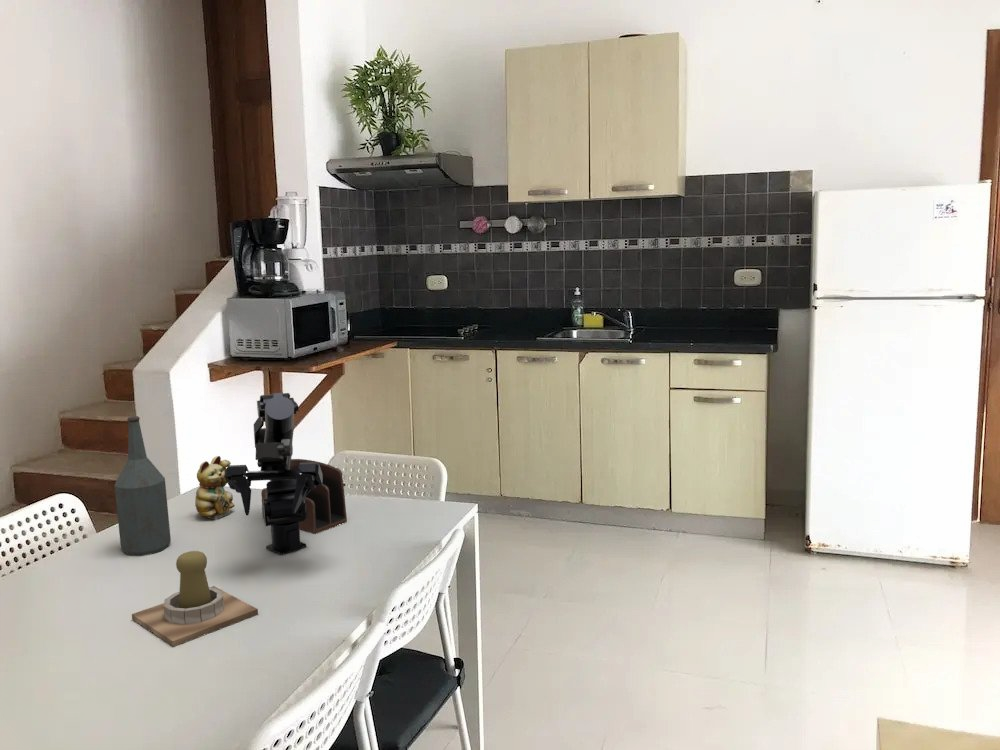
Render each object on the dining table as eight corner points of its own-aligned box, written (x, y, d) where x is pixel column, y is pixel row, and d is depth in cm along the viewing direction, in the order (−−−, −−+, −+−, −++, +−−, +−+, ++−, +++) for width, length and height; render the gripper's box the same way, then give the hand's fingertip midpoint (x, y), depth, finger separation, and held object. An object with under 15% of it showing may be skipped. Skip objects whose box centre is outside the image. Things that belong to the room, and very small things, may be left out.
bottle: (122, 559, 181) (108, 423, 176) (120, 545, 190) (106, 415, 185) (173, 550, 186) (160, 417, 181) (168, 536, 194) (156, 410, 189)
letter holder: (294, 508, 213) (291, 454, 211) (347, 523, 201) (344, 466, 199) (262, 519, 205) (257, 463, 203) (315, 535, 193) (311, 475, 191)
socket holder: (132, 619, 152) (130, 601, 151) (214, 590, 163) (212, 573, 163) (173, 646, 141) (171, 627, 140) (258, 614, 152) (256, 596, 152)
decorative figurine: (214, 523, 203) (208, 463, 200) (186, 520, 206) (181, 460, 203) (239, 510, 212) (235, 453, 209) (213, 508, 215) (208, 451, 212)
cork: (202, 619, 148) (196, 560, 147) (171, 617, 150) (165, 558, 148) (220, 605, 154) (215, 548, 152) (190, 603, 155) (185, 546, 154)
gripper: (222, 426, 168) (211, 496, 159) (316, 423, 169) (310, 492, 160) (236, 455, 177) (226, 522, 168) (325, 451, 178) (320, 518, 169)
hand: (270, 513), depth 166 cm, fingers open, 9 cm apart
